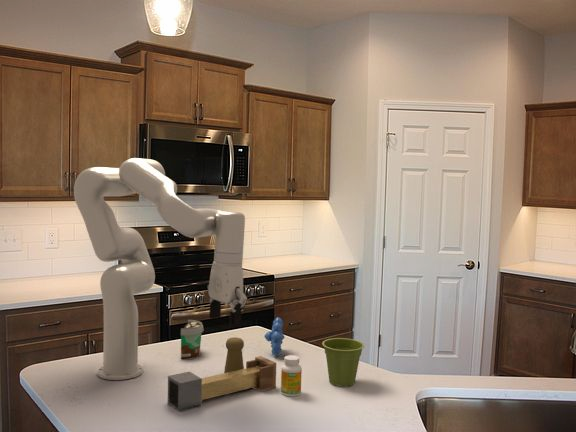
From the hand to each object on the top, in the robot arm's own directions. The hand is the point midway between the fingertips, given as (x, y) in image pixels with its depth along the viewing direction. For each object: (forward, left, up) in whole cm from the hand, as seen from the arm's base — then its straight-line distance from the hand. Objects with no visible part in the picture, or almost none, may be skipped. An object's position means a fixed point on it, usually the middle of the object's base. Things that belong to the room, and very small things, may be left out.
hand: (224, 321), depth 150 cm
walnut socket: (+2, +11, -19) cm, 22 cm away
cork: (-9, +9, -19) cm, 23 cm away
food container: (-33, +9, -19) cm, 39 cm away
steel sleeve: (+2, -13, -19) cm, 23 cm away
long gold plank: (+2, 0, -19) cm, 19 cm away
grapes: (-19, +31, -19) cm, 41 cm away
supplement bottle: (+11, +14, -19) cm, 26 cm away
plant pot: (+13, +31, -19) cm, 39 cm away
